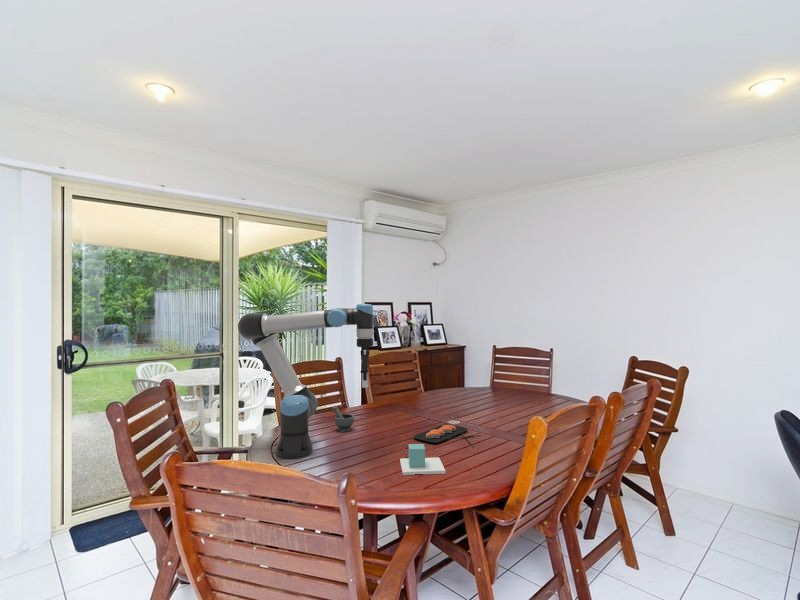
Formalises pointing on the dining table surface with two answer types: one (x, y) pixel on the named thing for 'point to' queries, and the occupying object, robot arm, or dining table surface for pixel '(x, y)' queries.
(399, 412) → the dining table surface
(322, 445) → the dining table surface
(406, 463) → the stud board
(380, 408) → the dining table surface
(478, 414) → the dining table surface
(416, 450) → the cap
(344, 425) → the mortar and pestle
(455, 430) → the sushi plate
